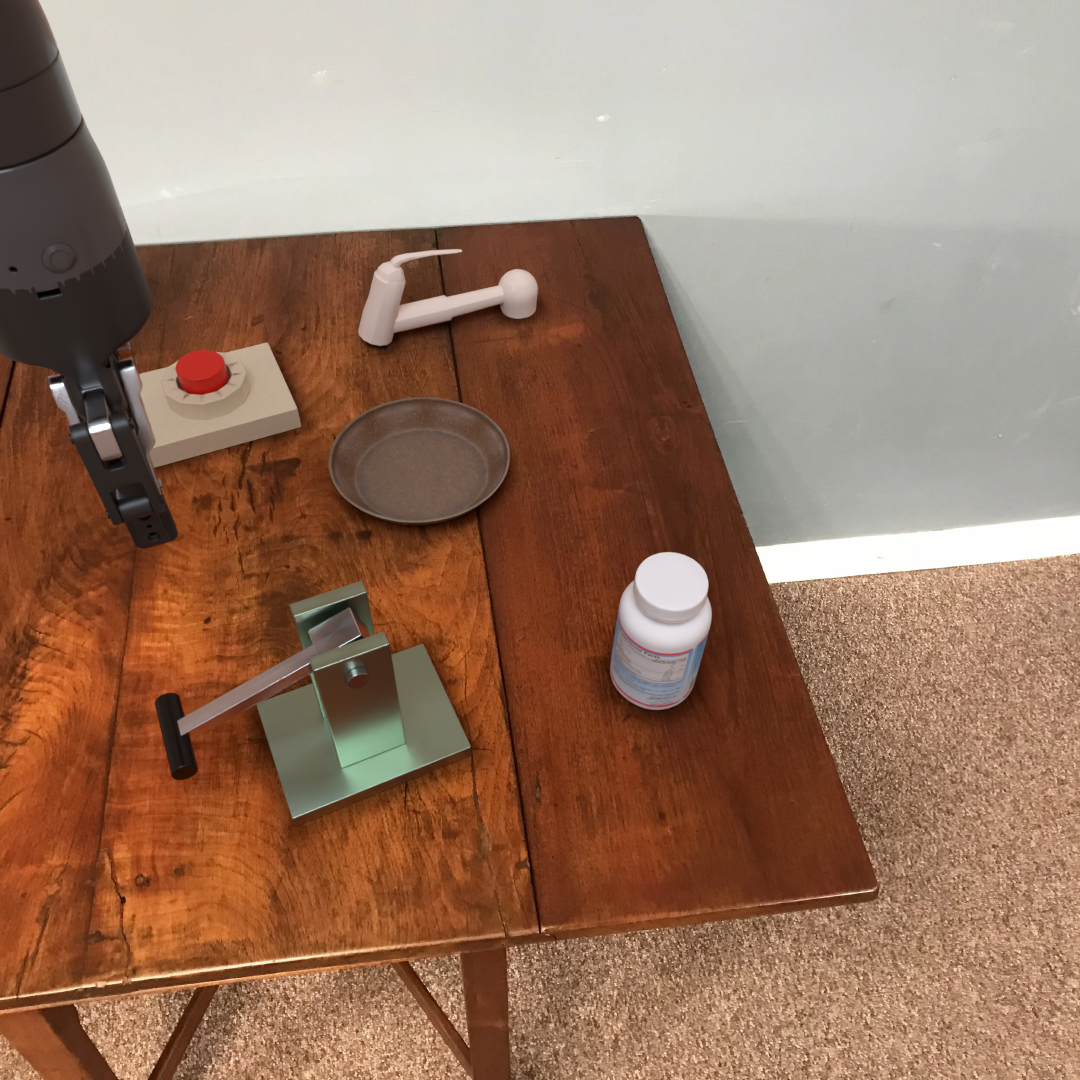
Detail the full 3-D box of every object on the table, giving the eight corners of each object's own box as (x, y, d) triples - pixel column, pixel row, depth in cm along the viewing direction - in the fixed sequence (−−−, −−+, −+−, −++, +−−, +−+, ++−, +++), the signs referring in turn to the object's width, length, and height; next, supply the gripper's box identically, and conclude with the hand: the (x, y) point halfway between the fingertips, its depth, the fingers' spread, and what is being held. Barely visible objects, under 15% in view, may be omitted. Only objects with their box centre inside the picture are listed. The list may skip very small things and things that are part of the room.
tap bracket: (295, 827, 59) (253, 726, 49) (259, 712, 64) (215, 600, 54) (472, 755, 62) (466, 648, 53) (424, 652, 68) (410, 536, 58)
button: (186, 400, 79) (180, 384, 78) (176, 372, 81) (170, 356, 80) (233, 388, 80) (228, 372, 79) (222, 361, 82) (218, 344, 81)
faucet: (527, 355, 97) (559, 271, 91) (364, 347, 88) (388, 253, 82) (512, 332, 99) (543, 249, 93) (352, 322, 90) (374, 229, 84)
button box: (150, 469, 79) (135, 434, 76) (129, 396, 84) (115, 361, 81) (301, 427, 83) (294, 392, 79) (272, 360, 88) (263, 325, 85)
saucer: (386, 400, 85) (383, 376, 83) (536, 446, 82) (537, 423, 80) (298, 510, 76) (293, 487, 74) (463, 567, 73) (461, 545, 71)
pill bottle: (651, 626, 70) (672, 527, 61) (711, 682, 67) (741, 585, 58) (591, 670, 67) (603, 572, 58) (650, 729, 64) (672, 636, 56)
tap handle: (185, 786, 54) (161, 772, 52) (167, 713, 57) (144, 698, 55) (386, 672, 54) (369, 655, 52) (358, 606, 57) (341, 587, 56)
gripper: (-64, 170, 44) (63, 425, 56) (-54, 348, 36) (92, 601, 48) (103, 141, 46) (190, 394, 58) (149, 303, 38) (239, 557, 50)
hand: (145, 487), depth 53 cm, fingers open, 8 cm apart
